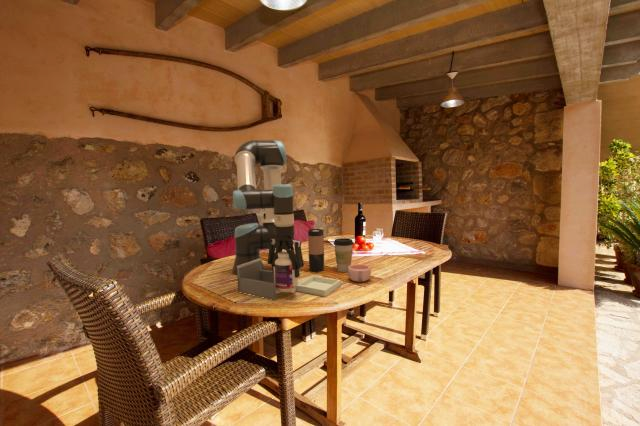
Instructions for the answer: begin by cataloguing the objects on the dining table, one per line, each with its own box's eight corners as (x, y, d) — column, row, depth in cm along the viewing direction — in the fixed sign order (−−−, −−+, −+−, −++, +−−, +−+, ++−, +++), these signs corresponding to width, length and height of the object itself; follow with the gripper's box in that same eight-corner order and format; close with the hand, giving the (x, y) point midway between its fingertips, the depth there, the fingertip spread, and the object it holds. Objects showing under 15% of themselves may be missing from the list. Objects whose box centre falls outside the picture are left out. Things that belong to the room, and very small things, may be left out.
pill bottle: (293, 293, 112) (291, 255, 110) (272, 292, 113) (271, 254, 112) (299, 286, 120) (298, 250, 118) (279, 285, 121) (278, 250, 120)
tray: (295, 291, 120) (295, 285, 120) (312, 281, 132) (312, 275, 132) (325, 296, 114) (325, 290, 114) (340, 285, 126) (340, 280, 125)
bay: (238, 292, 120) (236, 266, 119) (260, 282, 132) (259, 258, 131) (274, 300, 111) (273, 271, 110) (294, 289, 123) (294, 263, 122)
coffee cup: (332, 267, 153) (332, 238, 152) (351, 266, 154) (351, 237, 152) (335, 273, 143) (334, 242, 142) (355, 272, 144) (355, 241, 143)
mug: (373, 283, 128) (372, 269, 128) (349, 284, 128) (349, 270, 127) (367, 274, 140) (367, 262, 140) (345, 275, 140) (345, 263, 139)
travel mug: (326, 268, 152) (325, 229, 150) (321, 272, 145) (320, 231, 143) (312, 267, 154) (311, 228, 152) (306, 271, 147) (305, 231, 145)
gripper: (256, 225, 116) (258, 282, 118) (301, 228, 106) (303, 291, 108) (269, 222, 123) (271, 277, 125) (312, 225, 112) (314, 284, 114)
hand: (286, 283), depth 116 cm, fingers closed on pill bottle, 8 cm apart
